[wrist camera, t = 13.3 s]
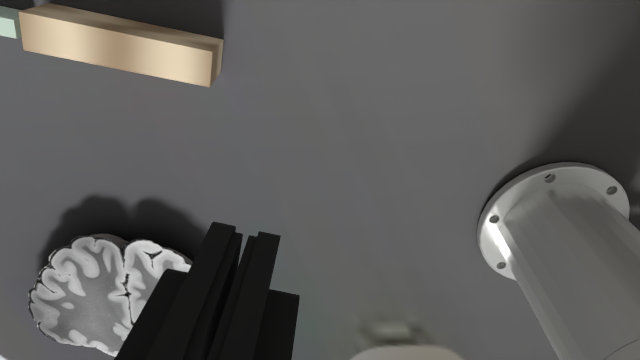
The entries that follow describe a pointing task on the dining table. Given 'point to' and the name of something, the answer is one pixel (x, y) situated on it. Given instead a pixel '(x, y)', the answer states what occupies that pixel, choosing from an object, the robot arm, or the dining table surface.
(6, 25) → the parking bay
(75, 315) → the brain slice
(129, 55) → the blocks
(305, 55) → the dining table surface
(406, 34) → the dining table surface
